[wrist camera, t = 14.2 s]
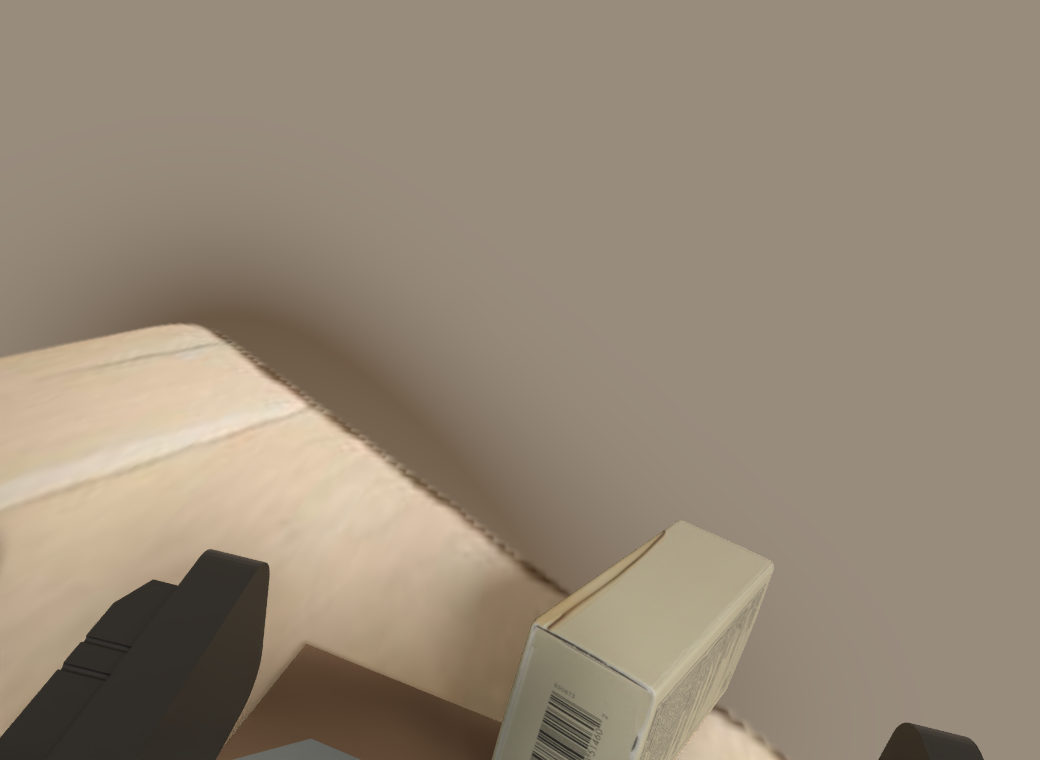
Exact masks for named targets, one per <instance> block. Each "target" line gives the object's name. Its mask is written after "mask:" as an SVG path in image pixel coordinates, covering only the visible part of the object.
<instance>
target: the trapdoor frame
mask: <svg viewBox="0 0 1040 760" xmlns="http://www.w3.org/2000/svg"><path fill="white" fill-rule="evenodd" d="M501 725H502V723H500V722H498V721H495V720H493V719H490V718H488V717H485V716H483V715H480V714H478V713H476V712H473V711H471V710H468V709H466V708H463V707H461V706H458V705H456V704H453V703H451V702H448V701H446V700H443V699H441V698H438V697H436V696H433V695H431V694H428V693H426V692H423V691H421V690H418V689H416V688H414V687H411V686H409V685H406V684H404V683H401V682H399V681H396V680H394V679H391V678H389V677H386V676H384V675H381V674H379V673H376V672H374V671H371V670H369V669H366V668H364V667H361V666H359V665H356V664H354V663H352V662H349V661H347V660H344V659H342V658H339V657H337V656H334V655H332V654H329V653H327V652H324V651H322V650H319V649H317V648H314V647H312V646H309V645H307V644H306V645H305V646H304V648H303V649H302V650H301V651H300V653H299V654H298V655H297V656H296V658H295V659H294V660H293V661H292V663H291V664H290V665H289V666H288V668H287V669H286V670H285V671H284V673H283V674H282V675H281V676H280V678H279V679H278V680H277V681H276V683H275V684H274V685H273V686H272V688H271V689H270V690H269V691H268V693H267V694H266V695H265V696H264V698H263V699H262V700H261V701H260V702H259V704H258V705H257V706H256V707H255V709H254V710H253V711H252V712H251V714H250V715H249V716H248V717H247V719H246V720H245V721H244V722H243V724H242V725H241V726H240V727H239V729H238V730H237V731H236V732H235V734H234V735H233V736H232V737H231V739H230V740H229V741H228V742H227V744H226V745H225V746H224V747H223V749H222V750H221V751H220V753H219V755H218V757H217V758H216V760H233V759H237V758H241V757H244V756H248V755H252V754H256V753H259V752H263V751H267V750H271V749H274V748H278V747H282V746H285V745H289V744H293V743H297V742H300V741H304V740H308V739H313V740H316V741H318V742H320V743H323V744H325V745H327V746H330V747H332V748H334V749H337V750H339V751H342V752H344V753H346V754H349V755H351V756H353V757H356V758H358V759H360V760H492V757H493V753H494V749H495V746H496V742H497V739H498V735H499V732H500V728H501Z"/></svg>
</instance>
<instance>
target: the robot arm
mask: <svg viewBox="0 0 1040 760" xmlns="http://www.w3.org/2000/svg"><path fill="white" fill-rule="evenodd" d="M268 586H269V565H268V564H267V563H265V562H261V561H257V560H253V559H249V558H245V557H241V556H237V555H233V554H229V553H225V552H221V551H216V550H212V549H209V550H207V551H205V552H204V553H203V554H202V555H201V556H200V558H199V559H198V560H197V562H196V563H195V564H194V566H193V567H192V568H191V569H190V571H189V572H188V573H187V575H186V576H185V577H184V579H183V580H182V581H181V583H180V584H179V585H178V586H177V585H173V584H169V583H165V582H161V581H157V580H152V581H150V582H148V583H147V584H145V585H143V586H141V587H140V588H138V589H136V590H135V591H133V592H131V593H130V594H128V595H126V596H125V597H123V598H121V599H120V600H118V601H116V602H115V603H113V604H112V606H111V607H110V608H109V609H108V610H107V611H106V613H105V614H104V615H103V616H102V617H101V619H100V620H99V621H98V622H97V623H96V625H95V626H94V627H93V628H92V629H91V631H90V632H89V633H88V634H87V635H86V639H85V641H84V642H80V644H79V645H78V646H77V647H76V648H75V650H74V651H73V652H72V653H71V654H70V655H69V657H68V658H67V659H66V660H65V661H64V664H63V667H62V669H61V670H57V671H56V672H55V673H54V674H53V676H52V677H51V678H50V679H49V680H48V682H47V683H46V684H45V685H44V686H43V688H42V689H41V690H40V691H39V692H38V694H37V695H36V696H35V697H34V698H33V699H32V701H31V702H30V703H29V704H28V705H27V707H26V708H25V709H24V710H23V711H22V713H21V714H20V715H19V716H18V717H17V718H16V720H15V721H14V722H13V723H12V724H11V726H10V727H9V728H8V729H7V730H6V732H5V733H4V734H3V735H2V736H1V737H0V760H216V758H217V757H218V755H219V753H220V751H221V749H222V747H223V745H224V744H225V742H226V740H227V738H228V736H229V734H230V732H231V731H232V729H233V727H234V725H235V723H236V721H237V719H238V718H239V716H240V714H241V712H242V710H243V708H244V706H245V704H246V702H247V700H248V698H249V696H250V693H251V691H252V688H253V686H254V683H255V680H256V677H257V673H258V670H259V666H260V661H261V656H262V648H263V637H264V627H265V617H266V606H267V596H268ZM879 760H984V759H983V757H982V755H981V752H980V750H979V749H978V747H977V745H976V744H975V743H974V742H973V741H972V740H971V739H970V738H967V737H965V736H960V735H956V734H952V733H948V732H944V731H940V730H936V729H932V728H928V727H924V726H920V725H915V724H911V723H902V724H901V725H899V726H898V727H897V728H896V729H895V731H894V733H893V734H892V736H891V738H890V740H889V741H888V743H887V745H886V747H885V749H884V751H883V752H882V754H881V756H880V758H879Z"/></svg>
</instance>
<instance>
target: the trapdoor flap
mask: <svg viewBox="0 0 1040 760" xmlns="http://www.w3.org/2000/svg"><path fill="white" fill-rule="evenodd" d="M233 760H360V759H358V758H356V757H353V756H351V755H349V754H346V753H344V752H342V751H339V750H337V749H334V748H332V747H330V746H327V745H325V744H323V743H320V742H318V741H316V740H313V739H308V740H304V741H300V742H297V743H293V744H289V745H285V746H282V747H278V748H274V749H271V750H267V751H263V752H259V753H256V754H252V755H248V756H244V757H241V758H237V759H233Z"/></svg>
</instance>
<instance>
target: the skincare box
mask: <svg viewBox="0 0 1040 760" xmlns="http://www.w3.org/2000/svg"><path fill="white" fill-rule="evenodd" d="M773 569H774V566H773V563H772V562H771V561H770V560H768V559H766V558H764V557H762V556H759V555H758V554H755V553H753V552H751V551H749V550H747V549H745V548H743V547H741V546H739V545H736V544H734V543H732V542H729V541H727V540H725V539H723V538H721V537H719V536H716V535H714V534H712V533H709V532H707V531H705V530H703V529H701V528H698V527H696V526H693V525H691V524H690V523H687V522H685V521H682V520H678V521H677V522H675V523H674V524H672V525H671V526H670V527H668V528H667V529H665V530H664V531H662V532H661V533H660V534H658V535H657V536H656V537H654V538H652V539H651V540H649V541H648V542H647V543H645V544H644V545H642V546H641V547H640V548H638V549H636V550H635V551H633V552H632V553H631V554H629V555H628V556H626V557H625V558H623V559H622V560H620V561H619V562H618V563H616V564H615V565H613V566H612V567H610V568H609V569H607V570H606V571H604V572H603V573H602V574H600V575H599V576H597V577H596V578H595V579H593V580H592V581H590V582H589V583H587V584H586V585H585V586H583V587H582V588H580V589H579V590H577V591H576V592H574V593H573V594H572V595H570V596H569V597H567V598H566V599H564V600H563V601H561V602H560V603H558V604H557V605H556V606H554V607H553V608H551V609H550V610H549V611H547V612H546V613H544V614H543V615H541V616H540V617H538V618H537V619H536V620H535V621H534V622H533V623H532V626H531V629H530V632H529V635H528V638H527V641H526V644H525V648H524V651H523V654H522V657H521V661H520V664H519V667H518V670H517V674H516V677H515V680H514V684H513V687H512V691H511V694H510V697H509V701H508V704H507V708H506V711H505V714H504V718H503V721H502V725H501V728H500V732H499V735H498V739H497V742H496V746H495V749H494V753H493V757H492V760H674V759H675V758H676V757H677V755H678V754H679V753H680V751H681V750H682V749H683V747H684V746H685V745H686V743H687V742H688V741H689V739H690V738H691V737H692V735H693V734H694V733H695V731H696V730H697V729H698V727H699V726H700V724H701V723H702V722H703V721H704V719H705V718H706V716H707V715H708V714H709V712H710V711H711V710H712V708H713V707H714V706H715V704H716V703H717V702H718V700H719V699H720V698H721V696H722V695H723V693H724V692H725V691H726V689H727V687H728V684H729V682H730V679H731V677H732V675H733V673H734V671H735V668H736V666H737V663H738V661H739V659H740V656H741V654H742V652H743V649H744V647H745V644H746V641H747V639H748V637H749V634H750V632H751V630H752V627H753V624H754V622H755V619H756V616H757V614H758V611H759V608H760V605H761V603H762V600H763V597H764V595H765V592H766V589H767V586H768V583H769V580H770V577H771V575H772V572H773Z"/></svg>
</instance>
